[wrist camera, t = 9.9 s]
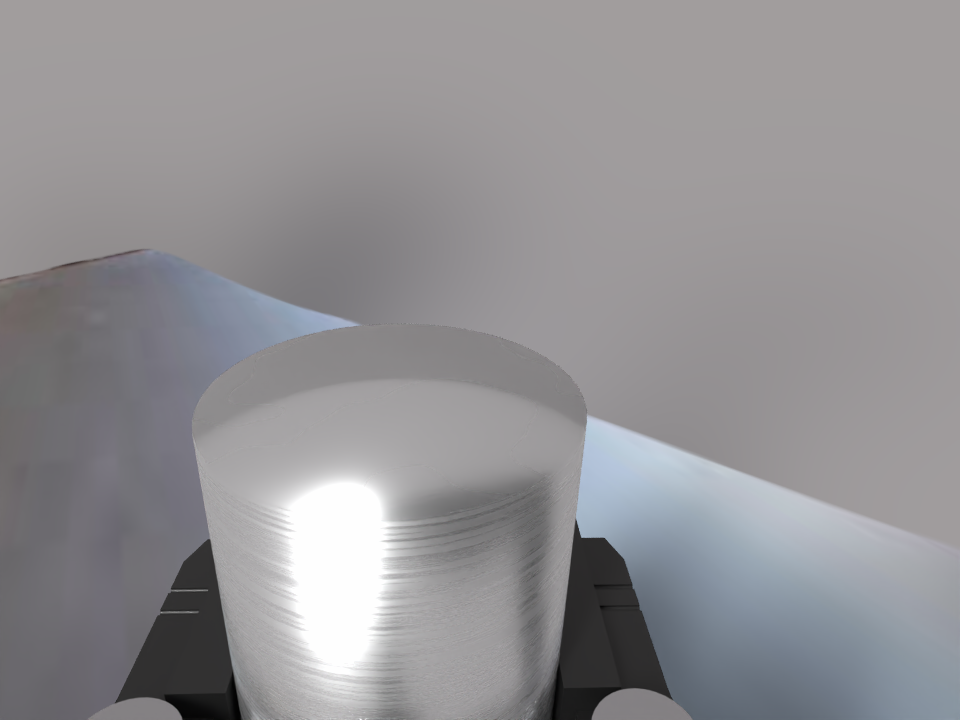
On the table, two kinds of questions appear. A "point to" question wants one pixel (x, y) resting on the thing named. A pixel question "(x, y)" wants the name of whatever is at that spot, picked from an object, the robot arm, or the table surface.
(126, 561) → the table surface
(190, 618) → the robot arm
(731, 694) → the table surface
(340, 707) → the brushed steel cylinder
